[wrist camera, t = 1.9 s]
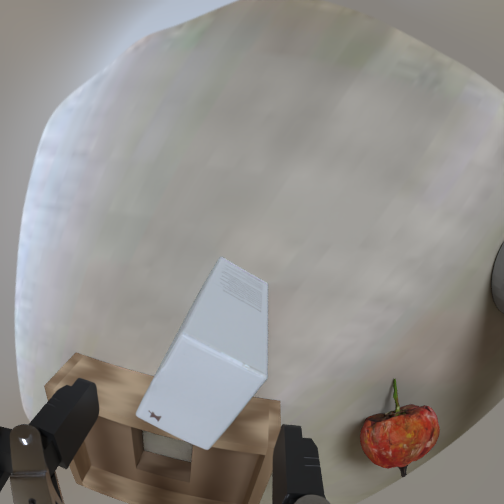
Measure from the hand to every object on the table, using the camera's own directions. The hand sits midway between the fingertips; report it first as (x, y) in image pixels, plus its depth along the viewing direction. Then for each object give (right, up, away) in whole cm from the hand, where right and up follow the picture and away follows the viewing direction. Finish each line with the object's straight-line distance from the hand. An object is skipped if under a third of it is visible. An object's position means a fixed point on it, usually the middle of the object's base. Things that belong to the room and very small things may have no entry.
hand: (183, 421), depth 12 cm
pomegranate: (+16, -8, +15) cm, 24 cm away
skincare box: (+1, +3, +13) cm, 13 cm away
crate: (-6, -12, +17) cm, 22 cm away
